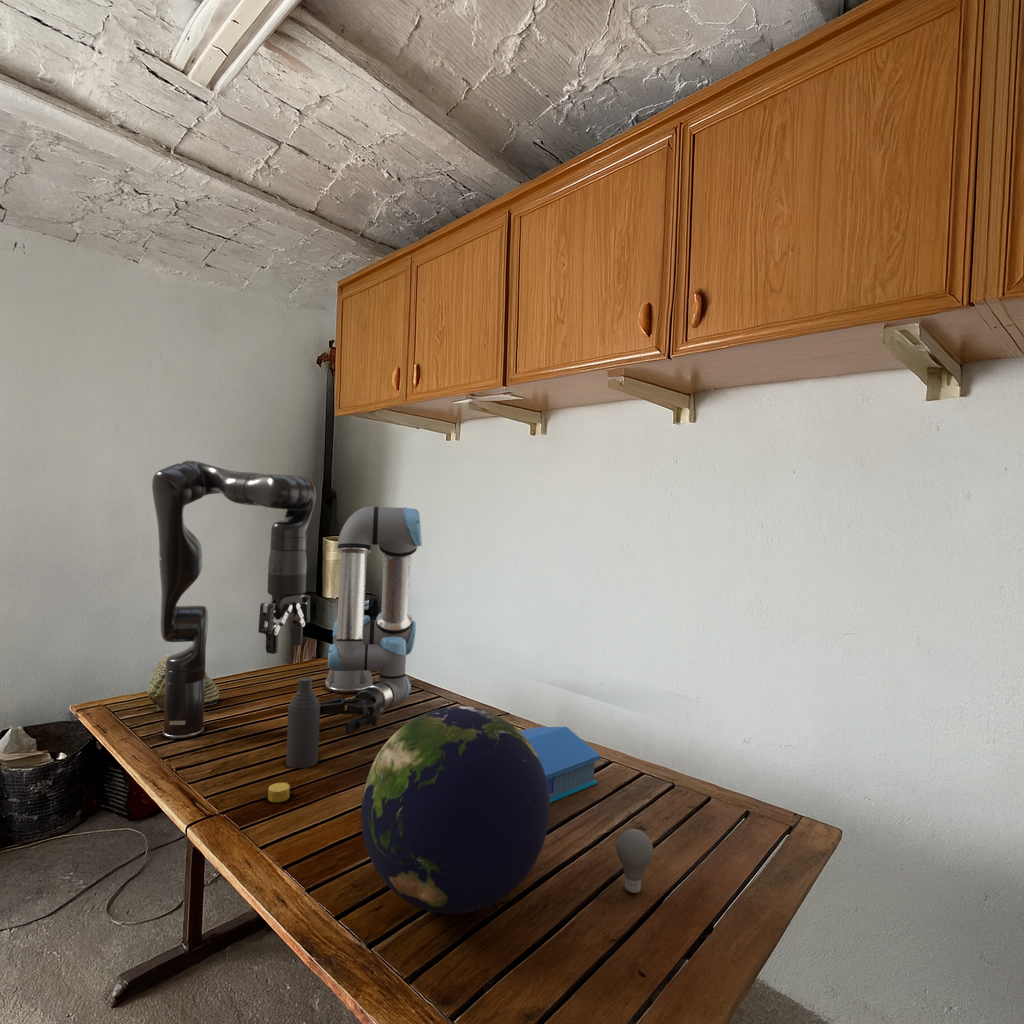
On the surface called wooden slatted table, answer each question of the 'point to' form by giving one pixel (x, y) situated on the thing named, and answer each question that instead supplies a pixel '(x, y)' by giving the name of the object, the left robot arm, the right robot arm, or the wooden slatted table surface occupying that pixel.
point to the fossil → (158, 687)
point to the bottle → (303, 727)
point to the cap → (279, 792)
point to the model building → (563, 759)
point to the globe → (455, 810)
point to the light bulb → (634, 857)
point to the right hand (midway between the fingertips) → (324, 723)
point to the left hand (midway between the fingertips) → (284, 648)
